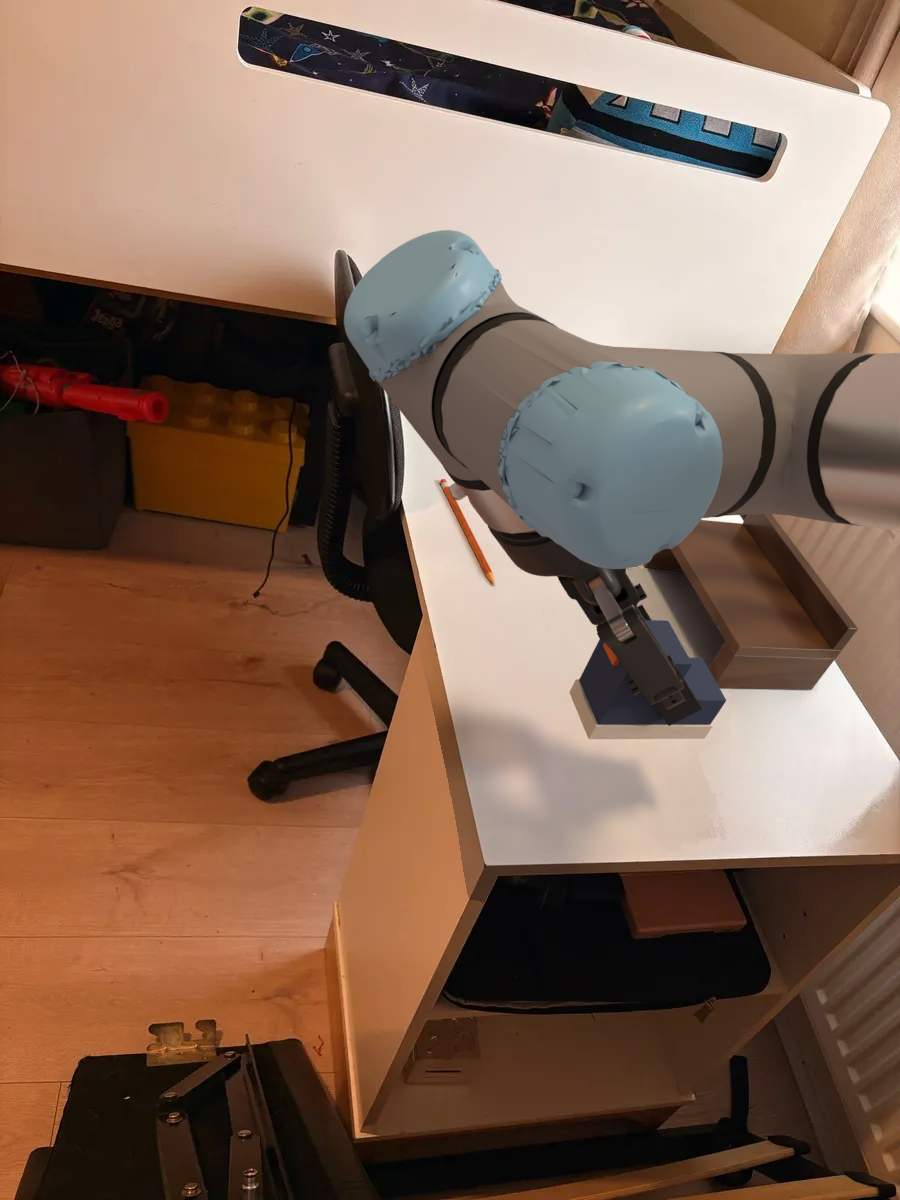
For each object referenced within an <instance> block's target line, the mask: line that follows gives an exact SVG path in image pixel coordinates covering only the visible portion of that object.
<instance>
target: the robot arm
mask: <svg viewBox="0 0 900 1200" xmlns="http://www.w3.org/2000/svg"><path fill="white" fill-rule="evenodd" d="M502 278H503V277H502V274H501V272H500V270H499V269H498V268H495V267H494V266H493V264H492V263H491V261H490V260H489V258H488V257H487V256H486V254H485V253H484V252H483V250H482V249H481V247H480V246H479V245H478V243H477V242H476V241H475V240H474V239H473V238H472V237H471V236H469V235H468V234H466V233H464V232H461V231H458V230H454V229H453V230H451V229H443V230H436V231H435V230H434V231H431V232H427V233H424V234H421V235H418V236H416V237H414V238H412V239H409V240H407V241H406V242H404V243H402V244H400V245H399V246H397V247H395V248H394V249H393V250H391V251H390V252H388V253H387V254H385V256H383V257H382V258H380V260H378V262H377V263H375V264H374V265H373V266H372V267H371V268H370V269H368V270H367V272H366V273H365V274H364V275H363V276H362V277H361V279H360V280H359V281H358V283H357V284H356V285H355V286H354V288H353V290H352V292H351V293H350V296H349V297H348V300H347V302H346V305H345V309H344V315H343V326H344V331H345V334H346V336H347V339H348V340H349V342H350V344H351V345H352V347H353V348H354V350H355V351H356V353H358V356H359V357H360V359H361V360H362V362H363V363H364V365H365V366H366V368H367V369H368V371H369V372H368V375H369V377H370V378H371V380H372V381H373V382H377V383H378V384H379V385H380V387H381V389H383V391H384V392H385V393H386V394H387V396H388V397H389V398H390V400H391V401H392V402H393V403H394V405H395V407H396V408H398V410H399V411H400V412H401V414H402V415H403V416H404V418H405V419H406V420H407V422H408V423H409V424H410V426H411V427H412V428H413V429H414V431H415V432H416V433H417V434H418V436H419V437H420V438H421V440H422V441H423V442H424V444H426V446H427V447H428V449H429V450H430V451H431V453H432V454H433V455H434V457H435V458H436V459H437V461H438V462H439V463H440V464H441V465H442V468H443V469H444V471H445V472H446V473H447V475H448V476H449V478H450V479H451V480H452V482H453V483H452V484H450V485H449V492H450V495H451V497H452V498H453V499H454V500H456V501H460V500H463V499H464V498H465V497H467V499H468V501H469V503H470V505H471V506H472V508H473V509H474V511H475V512H476V513H477V514H478V516H479V518H481V520H482V521H483V522H484V524H485V525H487V528H488V531H489V533H491V535H492V537H493V538H494V539H495V540H496V541H497V543H498V544H499V546H500V547H501V548H502V549H503V551H504V553H505V554H506V555H507V556H508V557H509V559H510V560H511V561H512V563H513V564H514V565H515V566H516V567H517V568H518V569H520V570H521V571H523V572H525V573H527V574H529V575H532V576H536V577H537V576H538V577H549V578H550V577H557V580H558V582H559V583H560V585H561V587H562V588H563V590H564V591H565V593H566V594H567V596H568V597H569V598H570V599H571V600H574V601H576V603H578V605H579V607H580V608H581V610H582V611H583V613H584V615H585V616H586V618H587V619H588V621H589V622H590V624H592V625H593V626H595V628H596V635H597V637H598V639H599V640H602V641H604V643H605V644H606V645H607V646H608V647H609V648H610V649H611V650H612V652H613V653H614V654H615V656H616V657H617V659H618V660H619V661H620V663H621V664H622V666H623V667H624V669H625V670H626V671H627V673H628V674H629V676H630V677H631V678H632V680H630V681H628V685H629V687H630V689H631V691H632V693H633V695H636V694H638V693H640V692H641V693H642V694H643V697H644V699H645V701H646V702H648V703H649V704H650V705H653V704H654V706H655V707H656V709H657V710H658V711H659V713H660V714H661V716H662V717H663V719H664V720H665V721H666V723H667V724H668V726H670V725H672V724H674V723H676V722H678V721H680V720H682V719H684V718H686V717H688V716H690V715H692V714H694V713H696V712H698V711H700V710H702V707H701V706H700V704H699V702H698V700H697V699H696V697H695V695H694V694H693V692H692V691H691V689H690V687H689V686H688V684H687V683H686V681H685V679H684V678H683V676H682V675H681V673H680V671H679V670H678V668H677V667H676V665H675V663H674V662H673V660H672V659H671V657H670V655H669V656H666V654H665V652H664V651H663V649H662V647H661V646H660V644H659V642H658V641H657V639H656V637H655V636H654V634H653V632H652V631H651V629H650V627H649V626H648V624H647V622H646V621H645V620H652V618H651V616H650V615H649V613H648V612H647V610H646V608H645V606H644V605H643V604H640V605H638V604H639V603H640V602H641V601H644V600H645V599H647V598H648V595H647V593H646V591H645V589H644V588H643V586H642V585H641V583H638V584H636V585H634V584H633V582H632V581H631V579H630V577H629V575H628V573H627V572H626V571H627V569H631V568H636V567H639V566H642V565H643V566H644V564H646V563H648V562H649V561H650V560H651V559H652V557H653V555H654V554H656V553H658V552H660V551H661V550H664V549H672V548H674V547H675V546H677V545H678V544H679V543H681V542H682V541H683V540H684V539H685V538H686V537H687V536H688V535H689V534H690V533H691V532H692V530H693V529H694V528H695V527H696V526H697V524H698V523H699V522H700V520H703V519H709V518H721V517H726V516H728V517H729V516H747V515H753V514H772V515H780V516H790V517H796V518H802V519H808V520H813V521H820V522H824V523H825V522H826V523H832V524H841V525H850V526H859V527H868V528H874V529H879V530H885V531H891V532H897V533H900V351H899V352H898V351H897V352H886V353H885V352H884V353H869V352H845V353H844V352H841V353H840V352H839V353H749V352H748V353H747V352H745V353H744V352H741V353H740V352H739V353H738V352H725V351H710V350H709V351H705V350H691V349H690V350H687V349H672V348H651V347H629V346H628V347H626V346H613V345H611V346H610V345H604V344H600V343H595V342H591V341H589V340H586V339H584V338H581V337H580V336H577V335H575V334H573V333H571V332H569V331H566V330H564V329H562V328H560V327H558V326H557V325H556V324H555V323H552V322H550V321H548V320H547V319H545V318H543V317H542V316H540V315H538V314H536V313H534V312H532V311H530V310H528V309H526V308H523V307H522V306H520V305H519V304H517V303H516V302H515V301H514V300H513V299H512V298H511V296H510V295H509V294H508V292H507V291H506V289H505V286H504V284H503V283H502Z"/></svg>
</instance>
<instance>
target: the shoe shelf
mask: <svg viewBox="0 0 900 1200" xmlns="http://www.w3.org/2000/svg"><path fill="white" fill-rule="evenodd" d="M643 566H644V567H645V568H647V569H659V570H660V569H663V570H675V571H678V570H679V571H682V572H683V573H684V574H685V576H686V578H687V579H688V581H689V583H690V585H691V587H692V588H693V589H694V591H695V593H696V594H697V596H698V598H699V600H700V601H701V603H702V604H703V606H704V608H705V610H706V612H707V613H708V614H709V616H710V618H711V619H712V621H713V623H714V625H715V626H716V628H717V629H718V631H719V632H720V635H721V636H722V638H723V639H724V642H723V644H722V645H721V647H720V648H719V650H718V651H717V653H716V654H715V656H714V658H713V659H712V661H711V662H710V664H709V665H708V666H707V667H708V669H709V671H710V672H711V674H712V676H713V678H714V679H715V681H716V683H717V685H718V686H719V688H720V689H745V690H746V689H747V690H748V689H749V690H751V689H752V690H795V691H797V690H799V691H801V690H802V691H803V690H805V691H807V690H808V691H812V690H813V689H814V687H815V686H816V685H817V684H818V682H819V681H820V679H821V678H822V677H823V676H824V674H825V673H826V672H827V670H828V669H829V668H830V667H831V665H832V664H834V663H833V662H834V661H835V660H836V659H837V658H838V656H839V655H840V654H841V653H842V651H843V650H844V649H845V647H847V644H849V642H850V641H851V640H852V638H853V637H854V636H855V634H856V633H857V631H858V630H859V628H858V626H857V625H856V624H855V622H854V621H853V620H852V618H851V617H850V616H849V614H848V613H847V612H846V610H845V609H844V608H843V607H842V605H841V604H840V603H839V601H838V600H837V599H836V597H835V596H834V594H833V593H832V592H831V591H830V589H829V588H828V587H827V585H826V584H825V582H823V580H822V579H821V577H820V576H819V575H818V573H817V572H816V571H815V569H814V568H813V567H812V566H811V564H810V563H809V561H808V560H807V559H806V557H805V556H804V555H803V553H802V552H801V551H800V550H799V548H798V547H797V545H796V544H795V543H794V541H792V539H791V538H790V536H789V534H788V533H787V532H786V531H785V530H784V528H783V527H782V526H781V525H780V523H779V522H778V521H777V519H776V517H774V514H753V515H746V517H745V518H744V520H743V522H742V523H740V522H730V521H729V522H728V521H720V520H719V521H718V520H708V519H707V520H706V519H701V520H700V522H699V523H698V524H697V526H696V527H695V528H694V529H693V530H692V532H691V533H690V534H689V535H688V536H687V537H686V538H685V539H684V540H683V541H682V542H681V543H679V544H678V545H677V546H675V547H674V548H672V549H664V550H661V551H660V552H658V553H656V554H654V555H653V557H652V559H651V560H650V561H649V562H648V563H646V564H643Z"/></svg>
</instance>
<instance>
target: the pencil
mask: <svg viewBox="0 0 900 1200" xmlns="http://www.w3.org/2000/svg"><path fill="white" fill-rule="evenodd" d="M446 479H447V478H441V479H440V481H439V483H440V487H442V489H443V491H444V494H445V495H446V498H447V500H448V502H449V504H450V505H451V508H452V510H453V512H454V514H455V516H456V518H457V520H458V522H459V524H460V526H461V528H462V530H463V532H464V534H465V536H466V538H467V540H468V542H469V544H470V547H471V549H472V551H473V553H474V554H475V556H476V558H477V561H478V562H479V565H480V567H481V569H482V570H483V572H484V575H485V576H486V578H487V579H488V580H489V582H490V583H491V584H492V586H494V587H496V582H495V577H494V574H493V571H492V569H491V567H490V565H489V562H488V561H487V559H486V557H485V555H484V553H483V551H482V549H481V546H480V545H479V542H478V541H477V539H476V537H475V535H474V533H473V531H472V528H471V527H470V525H469V523H468V521H467V519H466V517H465V515H464V513H463V511H462V509H461V508H460V505H459V503H458V500H454V499H453V498H452V497H451V495H450V492H449V487H450V485H449V484H448V482H447V480H446Z"/></svg>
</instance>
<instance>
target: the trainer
mask: <svg viewBox="0 0 900 1200" xmlns="http://www.w3.org/2000/svg"><path fill="white" fill-rule="evenodd" d="M645 621H646V622H647V624H648V626H649V627H650V629H651V631H652V632H653V634H654V636H655V637H656V639H657V641H658V642H659V644H660V646H661V647H662V649H663V651H664V652H665V654H666V656H669V655H670V657H671V659H672V660H673V662H674V663H675V665H676V667H677V668H678V670H679V671H680V673H681V675H682V676H683V678H684V679H685V681H686V683H687V684H688V686H689V687H690V689H691V691H692V692H693V694H694V695H695V697H696V699H697V700H698V702H699V704H700V706H701V707H702V710H700V711H698V712H696V713H694V714H692V715H690V716H688V717H686V718H684V719H682V720H680V721H678V722H676V723H674V724H672V725H670V726H668V724H667V723H666V721H665V720H664V719H663V717H662V716H661V714H660V713H659V711H658V710H657V709H656V707H655V706H654V704H653V705H650V704H649V703H648V702H646V701H645V699H644V697H643V694H642V693H641V692H640V693H638V694H636V695H633V693H632V691H631V689H630V687H629V685H628V681H630V680H632V678H631V677H630V676H629V674H628V673H627V671H626V670H625V669H624V667H623V666H622V664H621V663H620V661H619V660H618V659H617V657H616V656H615V654H614V653H613V652H612V650H611V649H610V648H609V647H608V646H607V645H606V644H605V643H604V641H602V640H600V639H599V640H598V641H597V644H596V646H595V647H594V649H593V651H592V654H591V655H590V657H589V659H588V662H587V663H586V665H585V667H584V669H583V671H582V673H581V675H580V677H579V679H575V680H574V682H573V684H572V686H571V688H570V690H569V693H568V694H569V695H570V697H571V700H572V702H573V705H574V707H575V710H576V712H577V715H578V717H579V719H580V722H581V724H582V727H583V729H584V732H585V734H586V736H587V739H588V740H662V739H663V740H691V739H692V740H693V739H695V740H698V739H699V740H703V739H706V737H707V736H708V735H709V733H710V731H711V730H712V728H713V727H714V725H713V724H712V723H713V721H714V720H715V718H717V716H718V714H719V712H720V711H721V710H722V708H723V706H724V705H725V704H726V702H727V698H726V697H725V695H724V694H723V691H722V690H721V688H719V686H718V685H717V683H716V681H715V679H714V678H713V676H712V674H711V672H710V671H709V669H708V667H709V666H708V665H707V664H706V662H705V660H704V659H703V658H702V657H689V655H688V654H687V652H686V650H685V648H684V646H683V645H682V643H681V641H680V639H679V637H678V636H677V634H676V631H675V630H674V629H673V627H672V624H671V623H670V622H669V620H661V619H659V620H658V619H651V620H645Z"/></svg>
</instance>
